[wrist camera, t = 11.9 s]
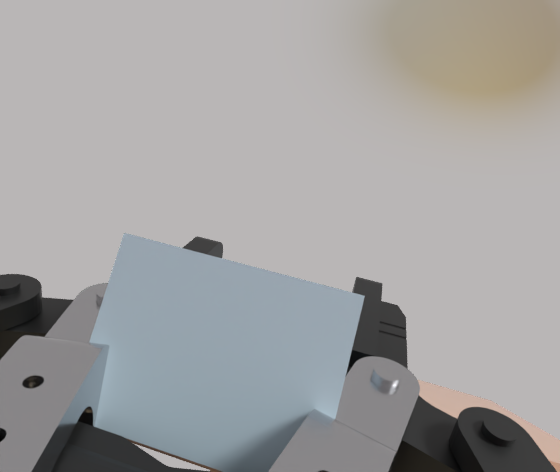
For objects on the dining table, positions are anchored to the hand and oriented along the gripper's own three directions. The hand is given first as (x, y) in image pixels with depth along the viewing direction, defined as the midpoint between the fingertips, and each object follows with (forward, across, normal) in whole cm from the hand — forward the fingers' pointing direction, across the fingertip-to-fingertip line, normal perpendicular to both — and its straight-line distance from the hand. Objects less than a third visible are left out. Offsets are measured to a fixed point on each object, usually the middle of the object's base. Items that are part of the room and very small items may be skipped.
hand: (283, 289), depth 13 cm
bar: (+6, 0, -7) cm, 9 cm away
